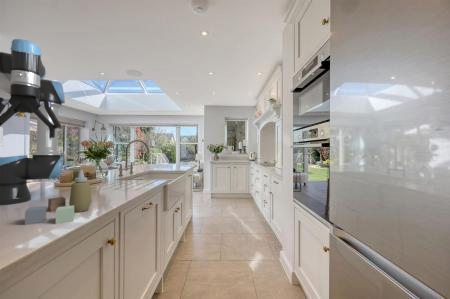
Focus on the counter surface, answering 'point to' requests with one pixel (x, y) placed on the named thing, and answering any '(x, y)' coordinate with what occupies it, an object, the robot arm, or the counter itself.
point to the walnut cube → (56, 203)
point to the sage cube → (64, 214)
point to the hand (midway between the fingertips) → (24, 146)
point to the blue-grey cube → (35, 215)
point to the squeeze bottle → (80, 193)
